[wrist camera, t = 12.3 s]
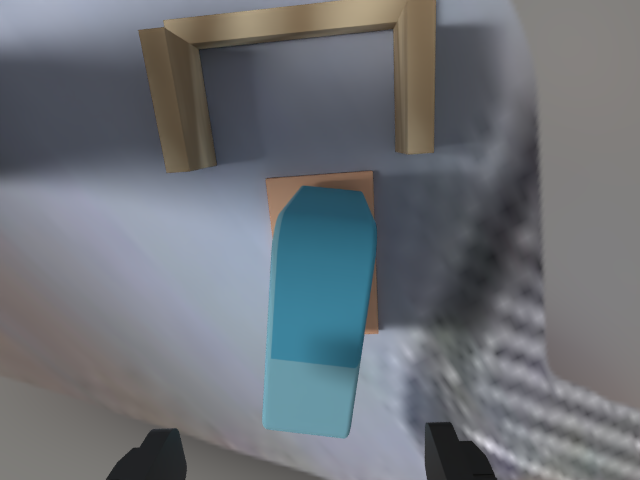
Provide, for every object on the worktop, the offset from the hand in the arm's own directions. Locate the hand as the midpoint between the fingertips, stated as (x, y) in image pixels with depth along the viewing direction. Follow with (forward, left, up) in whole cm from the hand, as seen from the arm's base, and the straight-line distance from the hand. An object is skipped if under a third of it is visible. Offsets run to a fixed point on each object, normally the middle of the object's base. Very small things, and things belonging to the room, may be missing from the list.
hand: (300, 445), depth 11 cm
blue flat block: (0, 0, -17) cm, 17 cm away
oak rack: (-1, +12, -18) cm, 22 cm away
